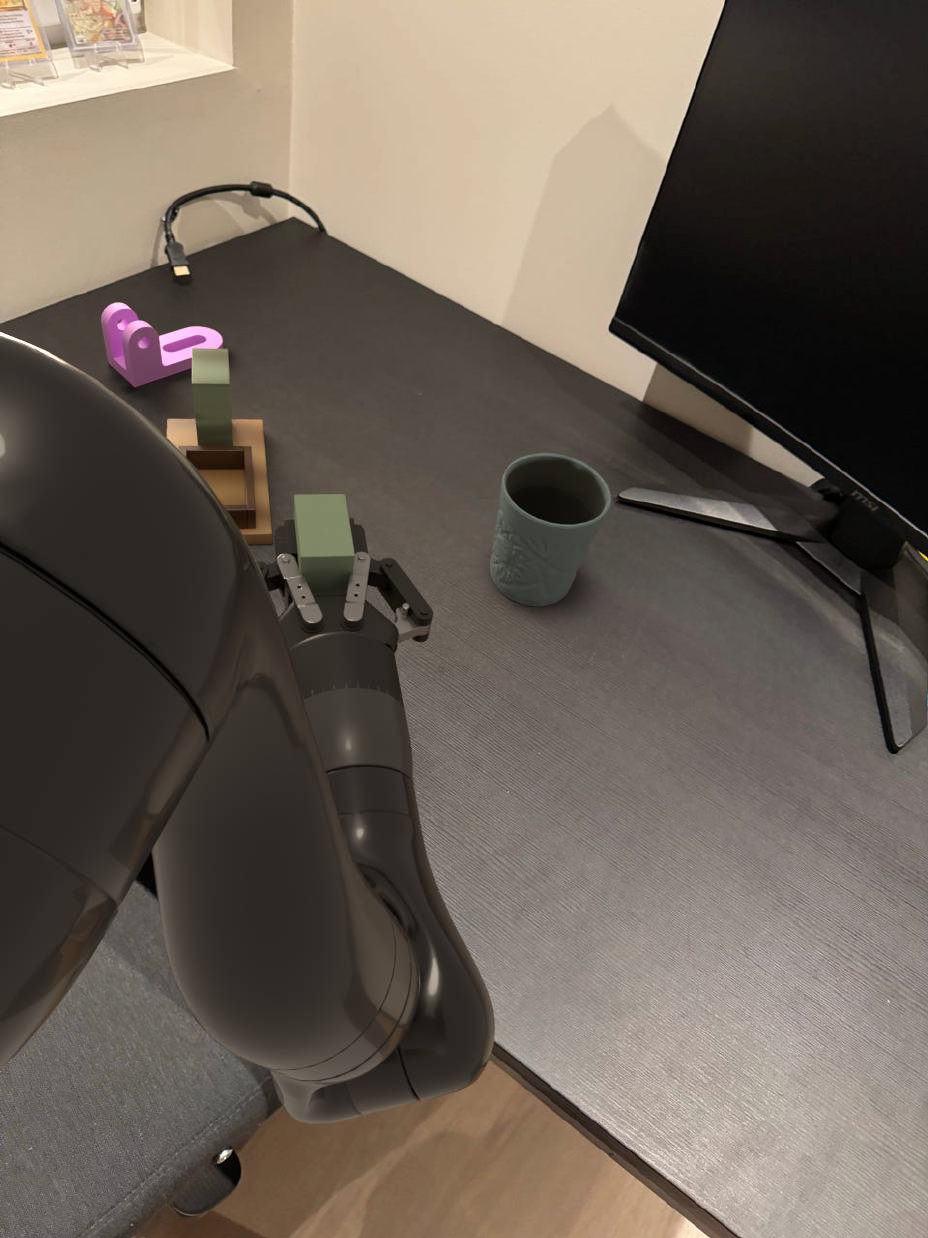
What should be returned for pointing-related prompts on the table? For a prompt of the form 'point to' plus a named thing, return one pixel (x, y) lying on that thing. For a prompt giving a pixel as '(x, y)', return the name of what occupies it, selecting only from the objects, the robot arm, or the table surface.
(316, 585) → the green rectangular block
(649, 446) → the table surface
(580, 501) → the grey green embossed cup
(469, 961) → the robot arm
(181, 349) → the bracket
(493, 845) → the table surface
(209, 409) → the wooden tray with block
